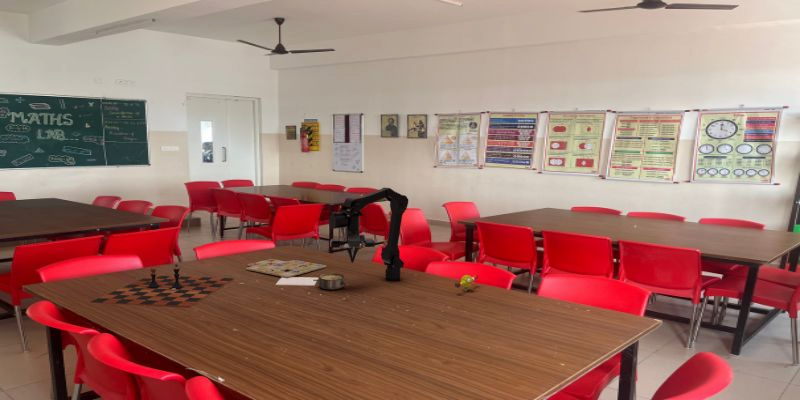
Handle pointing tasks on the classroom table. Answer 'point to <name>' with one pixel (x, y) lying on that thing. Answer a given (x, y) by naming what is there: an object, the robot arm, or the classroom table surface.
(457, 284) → the toy figure
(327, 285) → the alarm clock
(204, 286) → the chessboard
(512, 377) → the classroom table surface
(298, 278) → the white sheet of paper
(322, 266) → the alphabet tiles
